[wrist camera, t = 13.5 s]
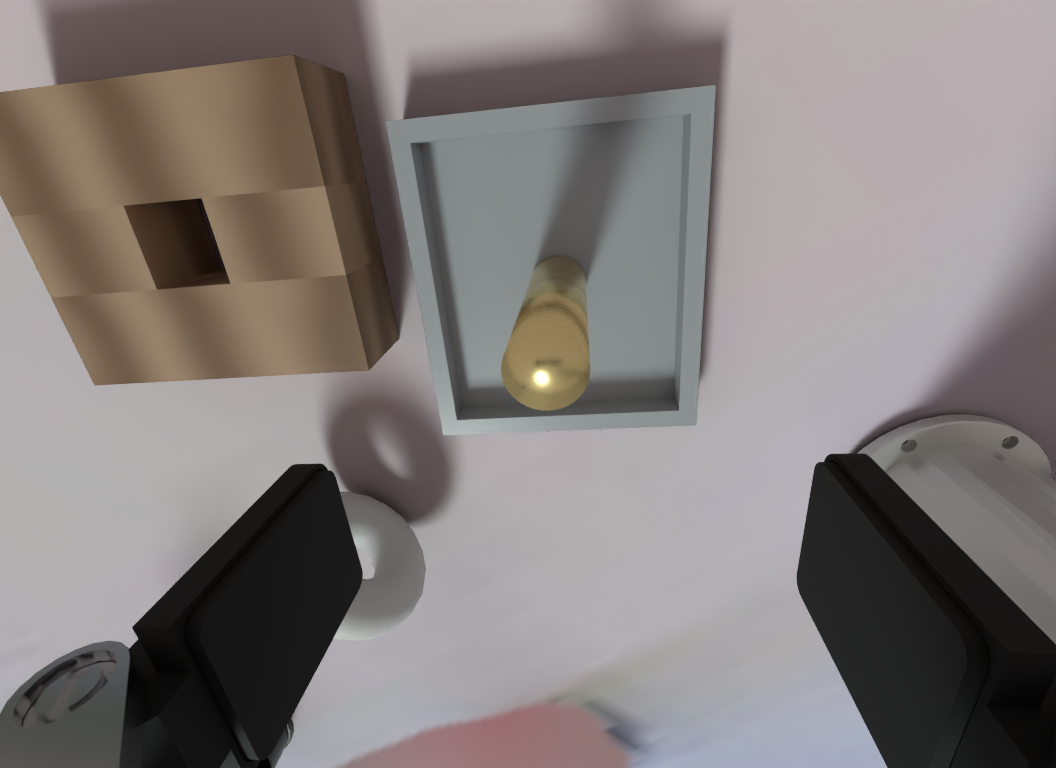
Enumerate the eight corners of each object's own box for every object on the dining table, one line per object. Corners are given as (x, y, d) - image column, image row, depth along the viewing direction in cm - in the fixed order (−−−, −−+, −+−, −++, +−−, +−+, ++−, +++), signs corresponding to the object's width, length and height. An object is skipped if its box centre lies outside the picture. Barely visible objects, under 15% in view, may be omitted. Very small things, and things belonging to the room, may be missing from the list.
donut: (450, 531, 36) (410, 654, 27) (425, 557, 38) (379, 683, 29) (332, 456, 34) (248, 563, 25) (311, 487, 36) (223, 599, 27)
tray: (702, 91, 24) (716, 84, 21) (686, 405, 31) (696, 425, 28) (402, 124, 25) (385, 121, 23) (452, 415, 32) (443, 435, 30)
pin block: (344, 73, 25) (293, 54, 20) (398, 338, 30) (368, 370, 26) (59, 108, 26) (-48, 98, 22) (161, 353, 32) (94, 385, 27)
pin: (584, 252, 26) (588, 326, 16) (586, 306, 28) (592, 409, 17) (529, 256, 27) (496, 331, 16) (533, 309, 28) (506, 412, 17)
